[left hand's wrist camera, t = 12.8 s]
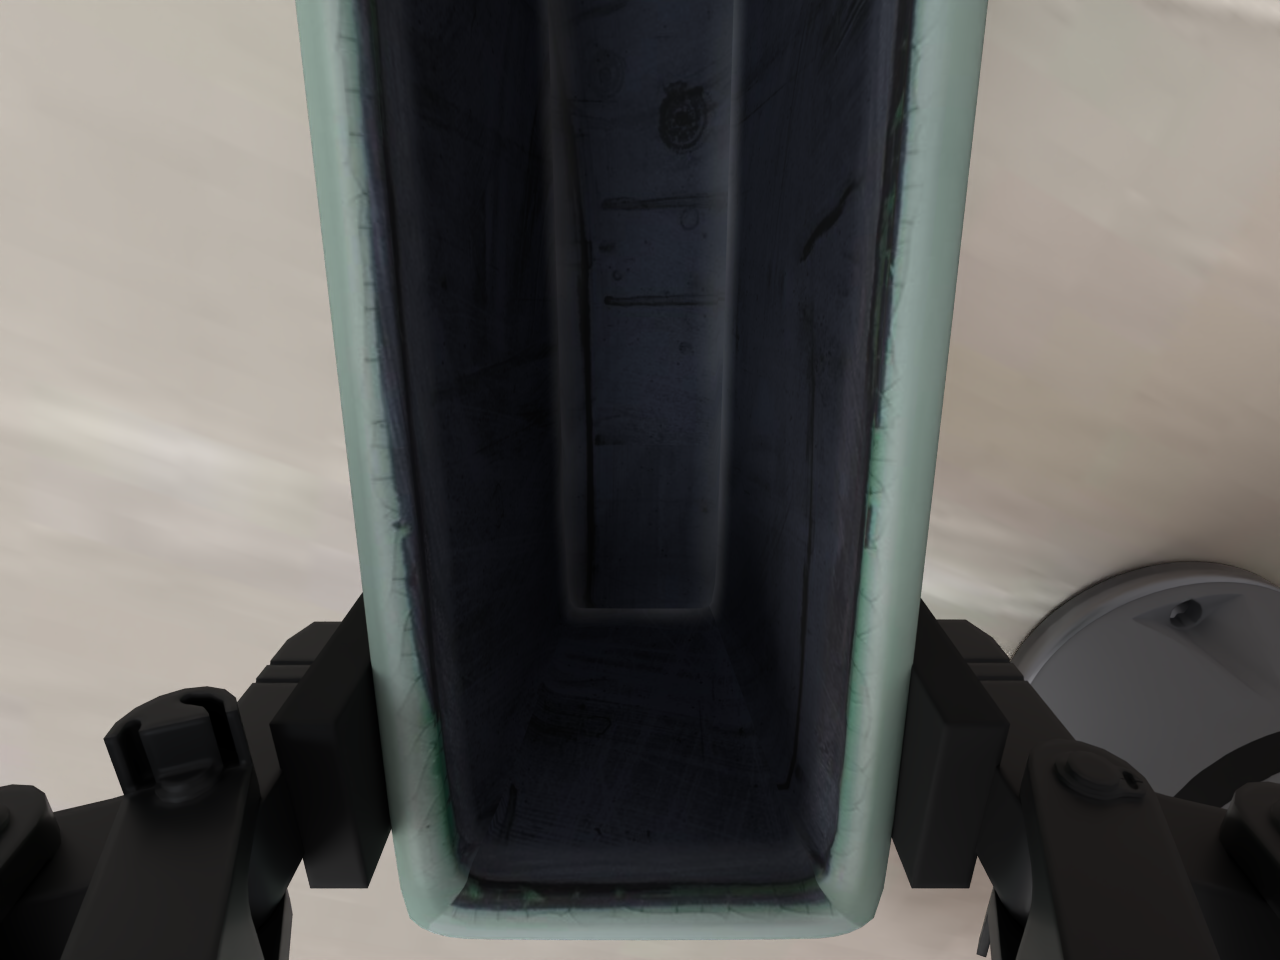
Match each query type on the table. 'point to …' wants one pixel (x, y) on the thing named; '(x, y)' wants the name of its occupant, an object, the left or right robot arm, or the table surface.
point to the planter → (641, 439)
